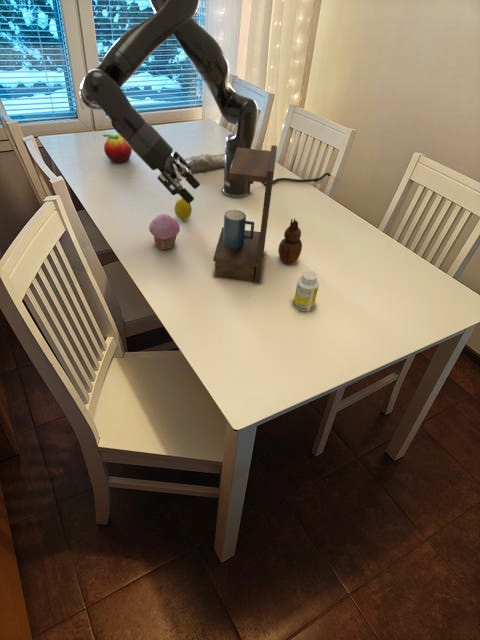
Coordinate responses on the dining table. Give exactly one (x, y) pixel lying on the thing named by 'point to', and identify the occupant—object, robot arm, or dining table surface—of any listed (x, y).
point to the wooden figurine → (290, 244)
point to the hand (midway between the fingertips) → (194, 193)
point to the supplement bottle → (306, 291)
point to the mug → (235, 229)
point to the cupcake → (164, 231)
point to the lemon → (182, 209)
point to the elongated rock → (205, 162)
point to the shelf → (250, 255)
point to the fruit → (117, 148)
